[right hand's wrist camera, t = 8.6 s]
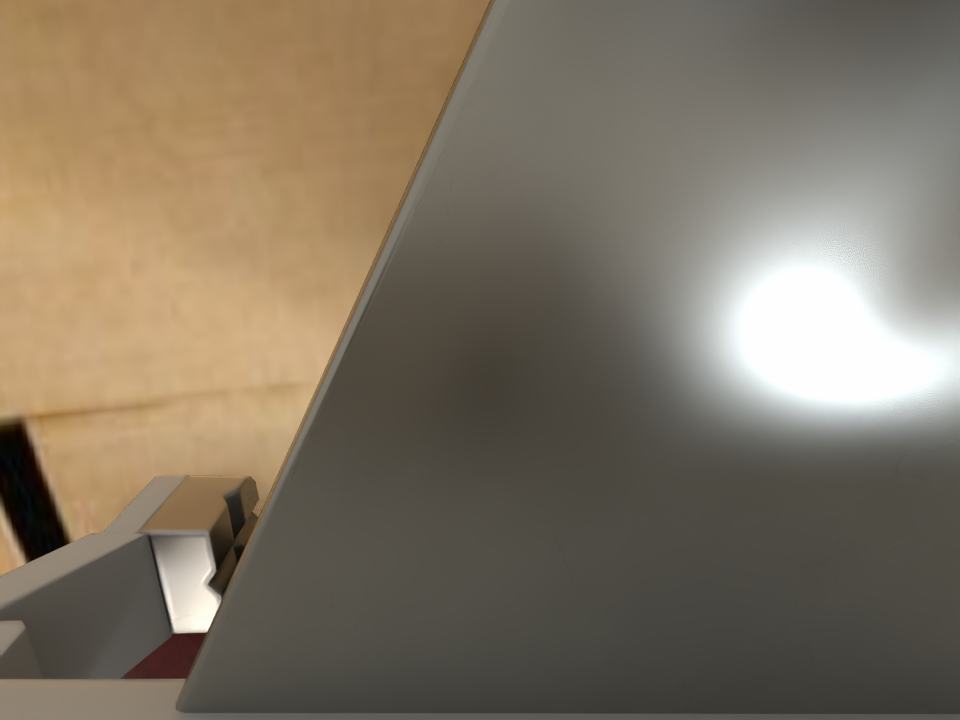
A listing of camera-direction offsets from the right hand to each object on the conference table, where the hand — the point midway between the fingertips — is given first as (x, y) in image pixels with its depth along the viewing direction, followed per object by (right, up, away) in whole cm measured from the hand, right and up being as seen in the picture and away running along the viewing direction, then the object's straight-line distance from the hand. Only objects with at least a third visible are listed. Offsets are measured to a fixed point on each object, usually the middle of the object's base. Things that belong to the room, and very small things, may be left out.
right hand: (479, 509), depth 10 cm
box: (+3, +8, +2) cm, 9 cm away
